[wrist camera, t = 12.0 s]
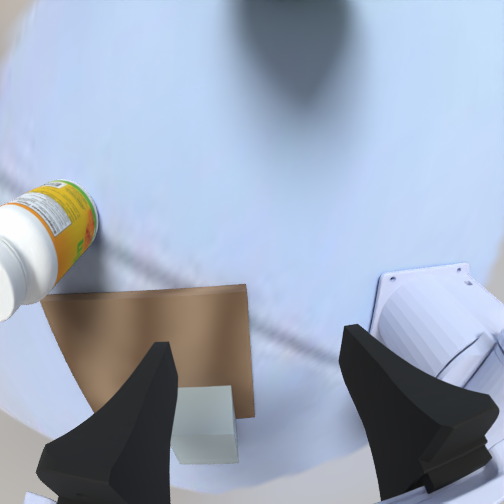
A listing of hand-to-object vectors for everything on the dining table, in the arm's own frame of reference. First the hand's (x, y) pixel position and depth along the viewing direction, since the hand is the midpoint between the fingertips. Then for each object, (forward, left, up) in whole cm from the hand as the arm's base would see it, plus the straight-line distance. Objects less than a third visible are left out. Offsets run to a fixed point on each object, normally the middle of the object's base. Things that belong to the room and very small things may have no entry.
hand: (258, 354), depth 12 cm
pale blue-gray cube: (+4, +14, -8) cm, 17 cm away
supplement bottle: (+12, -4, -10) cm, 16 cm away
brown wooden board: (+8, +9, -9) cm, 15 cm away
